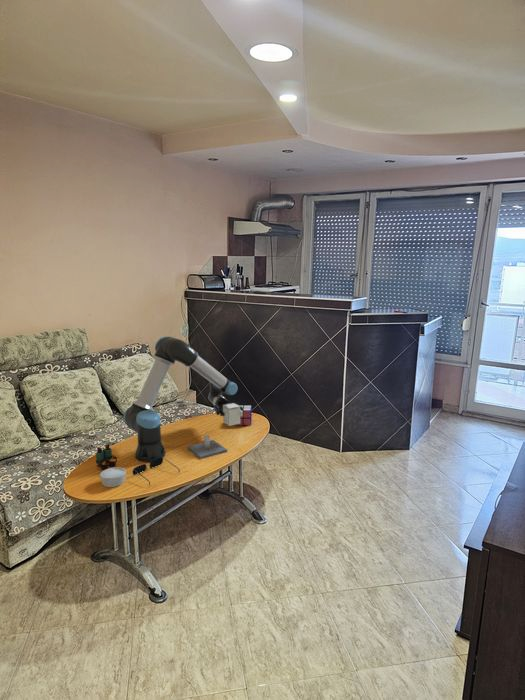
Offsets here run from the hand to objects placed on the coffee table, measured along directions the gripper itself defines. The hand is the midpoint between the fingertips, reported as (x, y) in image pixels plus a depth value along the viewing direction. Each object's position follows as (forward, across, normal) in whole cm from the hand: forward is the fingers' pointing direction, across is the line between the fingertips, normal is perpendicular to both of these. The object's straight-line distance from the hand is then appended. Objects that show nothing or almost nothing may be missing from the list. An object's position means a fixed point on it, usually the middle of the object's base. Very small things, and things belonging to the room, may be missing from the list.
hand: (234, 415), depth 238 cm
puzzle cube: (-31, -17, -18) cm, 40 cm away
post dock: (-1, +16, -18) cm, 24 cm away
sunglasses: (+16, +46, -19) cm, 52 cm away
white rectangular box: (-5, 0, -6) cm, 8 cm away
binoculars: (-2, +67, -18) cm, 69 cm away
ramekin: (+16, +66, -18) cm, 70 cm away
